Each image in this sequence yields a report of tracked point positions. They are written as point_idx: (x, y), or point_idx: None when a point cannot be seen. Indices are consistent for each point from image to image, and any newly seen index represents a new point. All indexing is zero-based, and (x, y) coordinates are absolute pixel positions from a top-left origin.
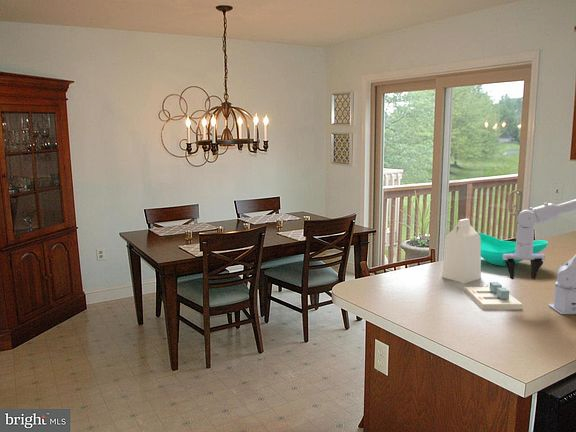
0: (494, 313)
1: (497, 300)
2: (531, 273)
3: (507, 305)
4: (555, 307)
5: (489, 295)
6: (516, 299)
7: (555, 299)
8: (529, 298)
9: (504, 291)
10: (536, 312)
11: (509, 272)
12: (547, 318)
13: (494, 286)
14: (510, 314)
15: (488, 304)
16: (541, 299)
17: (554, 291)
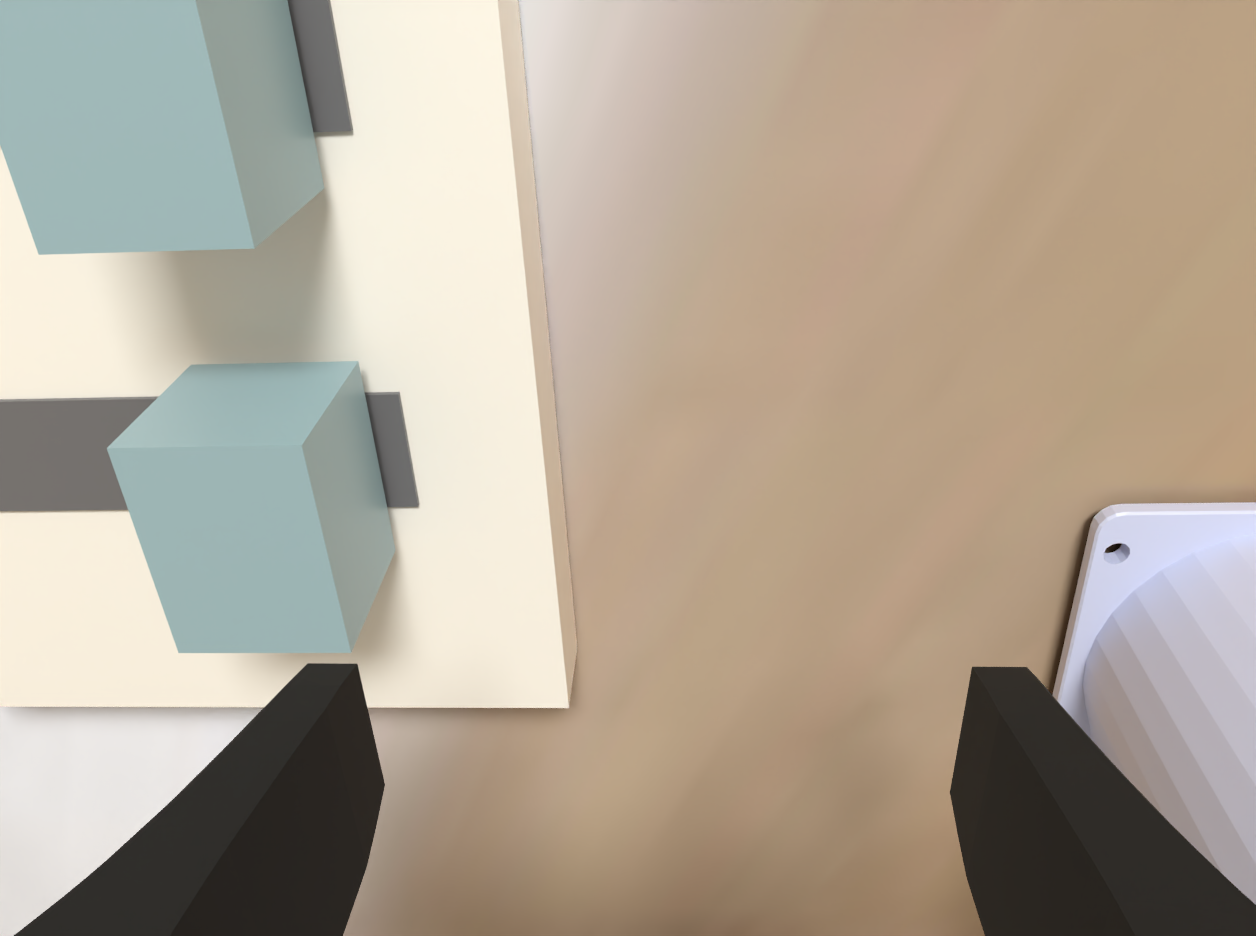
0: (157, 763)
1: None
2: (1017, 814)
3: None
4: (1086, 694)
5: (64, 303)
6: (546, 519)
7: (1137, 782)
8: (995, 103)
9: (251, 646)
10: (732, 740)
11: (214, 801)
12: (768, 891)
13: (77, 242)
14: None
15: (38, 703)
16: (1220, 166)
17: (1231, 826)
